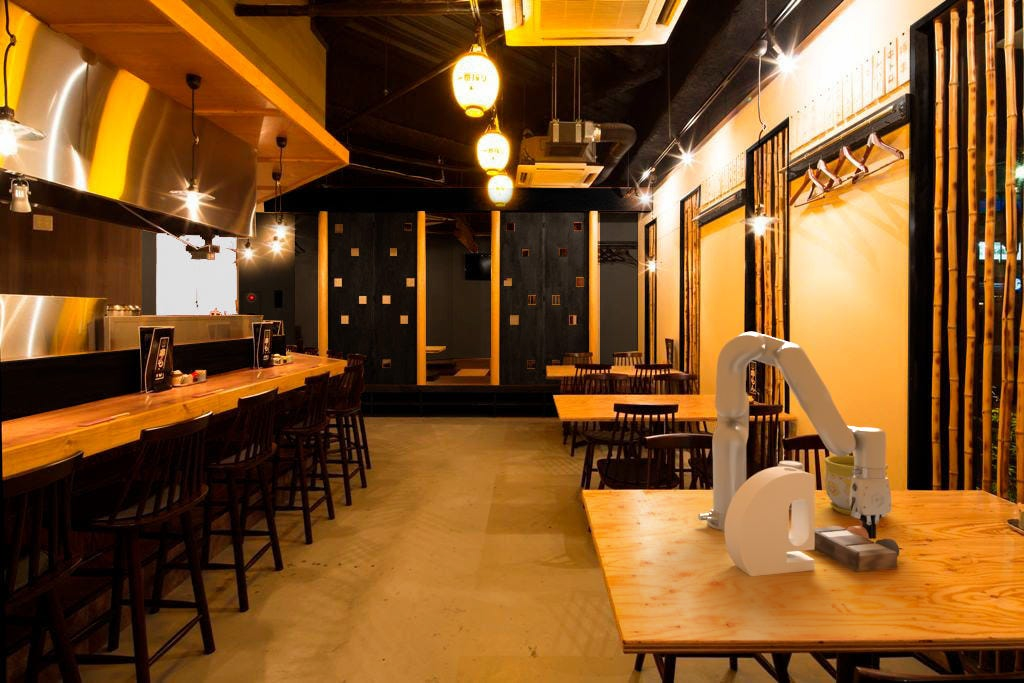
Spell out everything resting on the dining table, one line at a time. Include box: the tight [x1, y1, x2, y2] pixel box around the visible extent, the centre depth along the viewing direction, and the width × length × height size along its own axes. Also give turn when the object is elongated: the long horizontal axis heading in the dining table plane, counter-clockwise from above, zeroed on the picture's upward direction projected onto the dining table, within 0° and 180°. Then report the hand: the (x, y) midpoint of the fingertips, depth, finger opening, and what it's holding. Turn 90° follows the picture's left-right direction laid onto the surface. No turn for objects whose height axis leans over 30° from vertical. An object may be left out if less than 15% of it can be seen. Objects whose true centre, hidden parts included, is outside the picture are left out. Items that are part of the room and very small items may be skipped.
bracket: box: [723, 466, 816, 577], centre depth 149 cm, size 7×21×25 cm, turn 101°
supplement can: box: [776, 460, 805, 511], centre depth 198 cm, size 8×8×15 cm
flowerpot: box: [824, 455, 889, 516], centre depth 193 cm, size 18×18×16 cm
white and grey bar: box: [848, 538, 900, 558], centre depth 153 cm, size 13×5×5 cm, turn 101°
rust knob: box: [822, 525, 870, 540], centre depth 163 cm, size 13×5×5 cm, turn 101°
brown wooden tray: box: [814, 525, 898, 573], centre depth 157 cm, size 12×20×5 cm, turn 11°
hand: (869, 537), depth 164 cm, fingers closed
